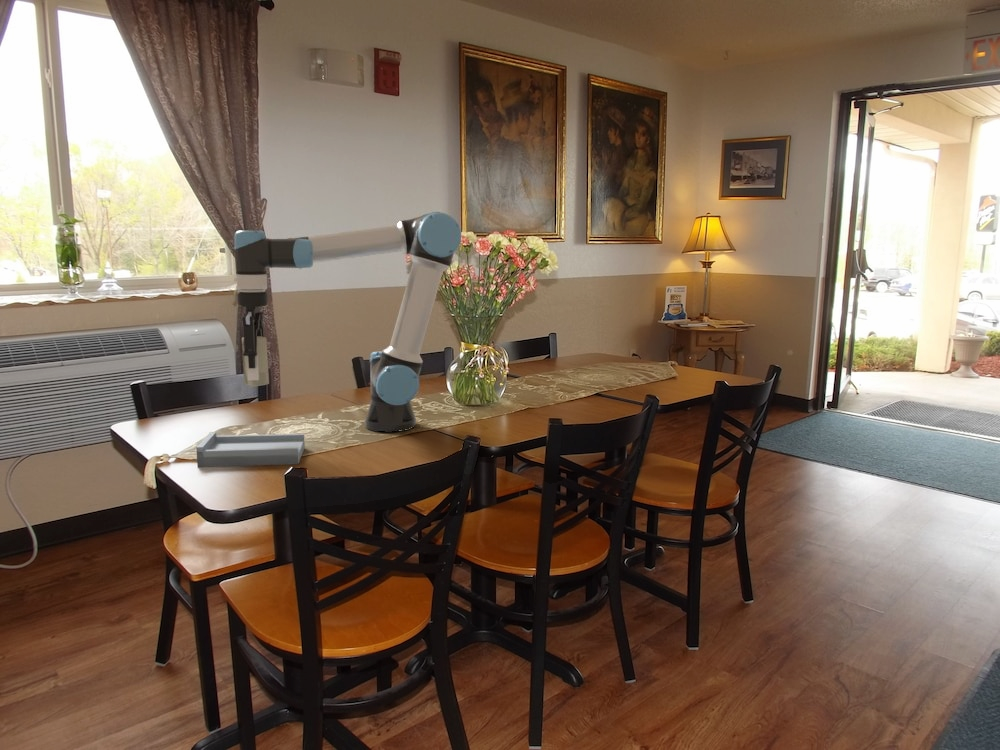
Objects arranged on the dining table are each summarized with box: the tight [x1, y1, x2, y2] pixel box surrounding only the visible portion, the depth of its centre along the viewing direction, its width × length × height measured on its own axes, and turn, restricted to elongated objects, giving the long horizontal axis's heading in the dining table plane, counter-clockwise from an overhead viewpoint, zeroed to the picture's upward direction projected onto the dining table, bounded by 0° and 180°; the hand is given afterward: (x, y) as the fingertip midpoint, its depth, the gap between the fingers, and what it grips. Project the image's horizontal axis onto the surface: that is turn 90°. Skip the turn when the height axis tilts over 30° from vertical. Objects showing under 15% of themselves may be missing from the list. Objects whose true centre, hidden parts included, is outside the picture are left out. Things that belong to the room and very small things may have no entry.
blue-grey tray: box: [195, 431, 306, 468], centre depth 184 cm, size 24×14×5 cm, turn 99°
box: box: [241, 336, 270, 387], centre depth 190 cm, size 5×4×13 cm
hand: (256, 377), depth 191 cm, fingers closed on box, 6 cm apart
